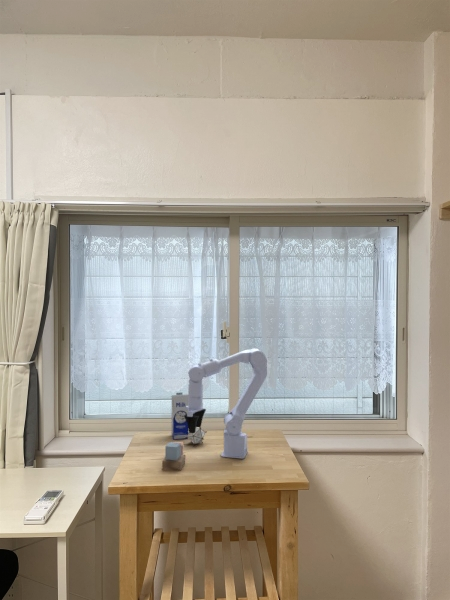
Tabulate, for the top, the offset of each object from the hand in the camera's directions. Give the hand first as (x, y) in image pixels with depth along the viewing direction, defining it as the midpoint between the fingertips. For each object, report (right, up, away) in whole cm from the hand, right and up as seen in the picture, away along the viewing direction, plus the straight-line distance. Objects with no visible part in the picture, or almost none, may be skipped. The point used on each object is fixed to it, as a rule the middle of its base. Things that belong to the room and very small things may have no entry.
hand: (195, 429), depth 172 cm
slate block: (-8, -7, -10) cm, 15 cm away
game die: (0, -11, +14) cm, 17 cm away
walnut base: (-7, -11, -10) cm, 17 cm away
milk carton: (-9, -10, +23) cm, 27 cm away
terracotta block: (-7, -11, 0) cm, 13 cm away
